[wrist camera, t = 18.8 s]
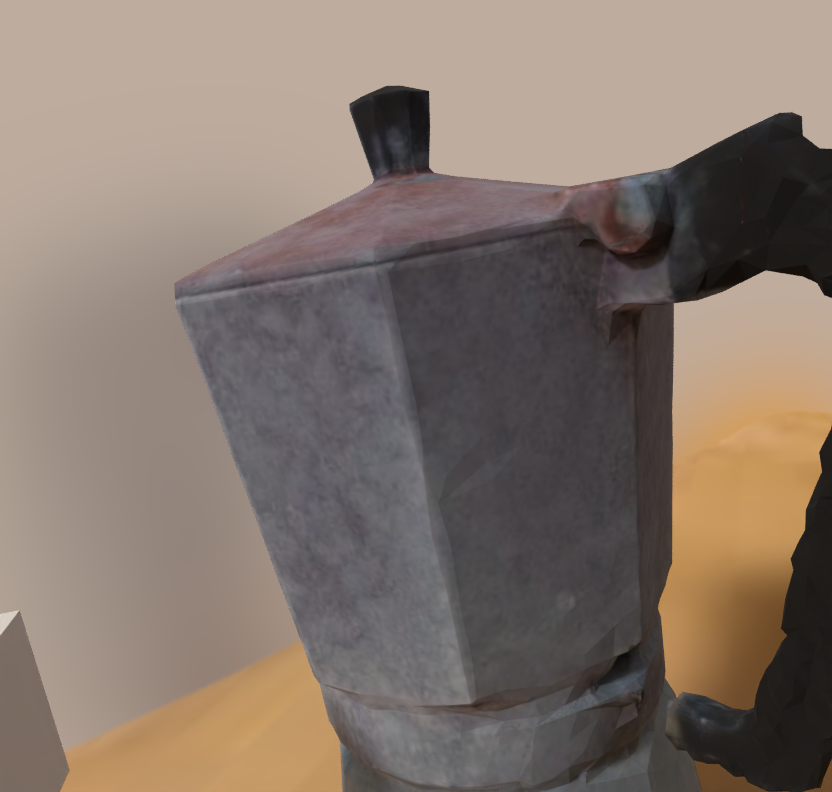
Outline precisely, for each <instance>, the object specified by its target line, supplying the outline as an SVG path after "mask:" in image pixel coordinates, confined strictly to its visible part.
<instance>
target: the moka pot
mask: <svg viewBox="0 0 832 792" xmlns="http://www.w3.org/2000/svg"><path fill="white" fill-rule="evenodd" d="M350 112H351V115H352V118H353V121H354V123H355V126H356V129H357V132H358V135H359V138H360V141H361V144H362V146H363V149H364V152H365V154H366V158H367V160H368V163H369V166H370V169H371V172H372V175H373V178H374V181H373V183H372V184H371V185H369V186H368V187H366V188H364V189H363V190H361V191H360V192H358V193H356V194H354V195H352V196H350V197H348V198H346V199H343V200H342V201H340V202H337V203H335V204H333V205H331V206H329V207H327V208H325V209H323V210H321V211H319V212H317V213H315V214H313V215H311V216H309V217H306V218H304V219H302V220H300V221H298V222H296V223H294V224H292V225H290V226H288V227H285V228H283V229H281V230H279V231H277V232H275V233H273V234H271V235H269V236H267V237H265V238H262V239H260V240H259V241H256V242H255V243H252V244H250V245H248V246H246V247H244V248H242V249H240V250H238V251H236V252H234V253H231V254H229V255H227V256H225V257H223V258H221V259H218V260H216V261H214V262H212V263H210V264H208V265H206V266H205V267H202V268H200V269H199V270H197V271H195V272H193V273H191V274H190V275H188V276H186V277H184V278H182V279H180V280H179V281H177V282H176V283H175V305H176V308H177V311H178V313H179V316H180V318H181V321H182V324H183V326H184V329H185V331H186V334H187V336H188V339H189V341H190V344H191V347H192V349H193V352H194V355H195V357H196V360H197V363H198V365H199V368H200V371H201V373H202V376H203V379H204V381H205V384H206V386H207V389H208V392H209V394H210V397H211V400H212V402H213V405H214V408H215V410H216V413H217V416H218V418H219V421H220V424H221V427H222V429H223V432H224V435H225V437H226V440H227V443H228V446H229V448H230V451H231V454H232V456H233V459H234V461H235V464H236V467H237V469H238V472H239V474H240V477H241V480H242V483H243V485H244V488H245V490H246V493H247V496H248V498H249V501H250V504H251V506H252V509H253V512H254V514H255V517H256V520H257V523H258V525H259V528H260V531H261V533H262V536H263V538H264V541H265V544H266V547H267V550H268V552H269V555H270V558H271V561H272V563H273V566H274V569H275V572H276V575H277V578H278V580H279V583H280V586H281V588H282V591H283V594H284V596H285V599H286V602H287V604H288V607H289V610H290V612H291V615H292V618H293V620H294V623H295V625H296V628H297V631H298V634H299V636H300V639H301V642H302V644H303V647H304V650H305V653H306V655H307V658H308V661H309V663H310V666H311V669H312V672H313V674H314V676H315V678H316V679H317V681H318V682H319V683H320V687H321V691H322V695H323V699H324V703H325V707H326V710H327V714H328V718H329V721H330V723H331V724H332V726H333V728H334V730H335V731H336V733H337V735H338V737H339V739H340V749H341V768H342V787H343V792H702V790H701V786H700V783H699V779H698V775H697V771H696V767H695V763H694V760H696V761H700V762H704V763H707V764H720V765H721V766H722V767H723V768H725V769H726V770H727V771H728V772H730V773H731V774H732V775H733V776H734V777H739V776H745V778H746V779H747V781H748V782H749V783H751V784H753V785H755V786H758V787H760V788H762V789H764V790H766V791H768V792H774V791H789V792H803V791H805V790H810V789H814V788H821V785H822V781H823V778H824V776H825V773H826V771H827V768H828V766H829V764H830V761H831V759H832V427H831V430H830V432H829V434H828V436H827V438H826V440H825V442H824V444H823V446H822V448H821V450H820V452H819V453H820V460H821V467H822V473H821V475H820V477H819V480H818V482H817V484H816V487H815V489H814V492H813V494H812V496H811V499H810V501H809V504H808V506H807V509H806V523H805V531H804V533H803V535H802V537H801V538H800V540H799V542H798V544H797V547H796V549H795V551H794V553H793V555H792V557H791V562H792V566H793V574H792V577H791V581H790V584H789V588H788V591H787V595H786V598H785V605H784V612H783V620H782V627H781V629H782V630H783V631H784V632H785V633H786V634H787V637H786V638H785V639H784V640H783V641H782V643H781V645H780V647H779V649H778V651H777V653H776V655H775V657H774V659H773V661H772V662H771V664H770V665H769V666H768V668H767V669H766V671H765V673H764V675H763V677H762V679H761V681H760V684H759V687H758V691H757V694H756V699H755V705H754V708H752V709H750V710H740V709H733V708H730V707H728V706H726V705H723V704H721V703H719V702H717V701H715V700H712V699H710V698H708V697H706V696H701V695H696V694H691V693H685V692H682V693H681V694H680V695H679V697H678V698H676V695H675V693H674V691H673V690H672V688H671V687H670V685H669V684H668V682H667V681H666V679H665V660H664V649H663V637H662V626H661V616H660V613H659V611H658V604H659V601H660V597H661V595H662V592H663V590H664V587H665V585H666V580H667V576H668V572H669V569H670V567H671V564H672V455H673V439H672V394H673V346H674V345H673V343H674V334H673V333H674V327H673V325H674V303H679V302H687V301H695V300H700V299H703V298H706V297H709V296H711V295H714V294H717V293H720V292H723V291H725V290H727V289H729V288H731V287H733V286H735V285H737V284H739V283H741V282H743V281H745V280H747V279H749V278H751V277H753V276H755V275H757V274H759V273H761V272H763V271H765V270H767V271H774V272H779V273H785V274H791V275H797V276H803V277H805V278H807V279H810V280H812V281H814V282H816V283H818V285H819V287H820V289H821V290H822V292H823V294H824V295H826V296H828V297H831V298H832V149H820V148H818V147H817V146H815V145H814V144H813V143H812V142H810V141H809V140H808V139H806V138H805V137H804V136H803V133H802V132H803V131H802V116H799V115H797V114H795V113H792V112H791V113H779V114H776V115H774V116H772V117H770V118H767V119H765V120H763V121H761V122H759V123H757V124H755V125H753V126H750V127H748V128H746V129H744V130H742V131H740V132H738V133H736V134H734V135H732V136H730V137H728V138H726V139H724V140H722V141H720V142H718V143H716V144H714V145H713V146H711V147H709V148H707V149H705V150H703V151H701V152H700V153H698V154H696V155H694V156H693V157H690V158H688V159H687V160H685V161H683V162H681V163H679V164H677V165H675V166H674V167H672V168H668V169H663V170H658V171H653V172H648V173H642V174H637V175H632V176H627V177H621V178H616V179H610V180H604V181H598V182H593V183H587V184H581V185H575V186H570V187H568V186H556V185H543V184H532V183H522V182H510V181H498V180H488V179H487V180H486V179H477V178H465V177H456V176H449V175H443V174H437V173H434V172H433V171H432V170H431V169H430V168H429V141H430V117H429V116H430V113H429V91H426V90H420V89H415V88H409V87H404V86H386V87H383V88H381V89H378V90H376V91H374V92H371V93H369V94H367V95H365V96H362V97H360V98H359V99H357V100H356V101H354V102H352V103H351V104H350Z"/></svg>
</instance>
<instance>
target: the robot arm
mask: <svg viewBox="0 0 832 792" xmlns="http://www.w3.org/2000/svg"><path fill="white" fill-rule="evenodd" d="M68 772H69V767H68V763H67V760H66V757H65V754H64V751H63V747H62V744H61V741H60V738H59V735H58V732H57V728H56V725H55V722H54V719H53V716H52V712H51V709H50V706H49V703H48V700H47V696H46V693H45V690H44V687H43V684H42V681H41V677H40V674H39V671H38V668H37V665H36V661H35V658H34V655H33V652H32V648H31V645H30V642H29V639H28V636H27V633H26V629H25V626H24V623H23V620H22V617H21V613H20V611H14V612H8V613H3V614H0V792H60V790H61V788H62V786H63V783H64V781H65V779H66V777H67V775H68Z"/></svg>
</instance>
